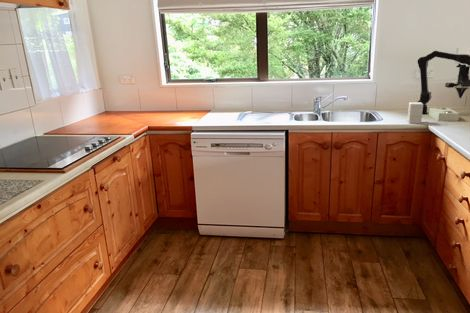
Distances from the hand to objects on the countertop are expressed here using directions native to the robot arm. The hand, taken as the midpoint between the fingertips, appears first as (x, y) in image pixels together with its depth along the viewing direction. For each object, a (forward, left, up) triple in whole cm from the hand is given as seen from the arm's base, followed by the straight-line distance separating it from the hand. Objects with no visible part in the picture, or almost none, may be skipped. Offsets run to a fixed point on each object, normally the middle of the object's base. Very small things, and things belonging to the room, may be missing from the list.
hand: (460, 97), depth 245 cm
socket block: (-11, -5, -13) cm, 17 cm away
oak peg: (-10, +1, -12) cm, 16 cm away
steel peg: (-10, -11, -12) cm, 19 cm away
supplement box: (-33, -20, -13) cm, 40 cm away
